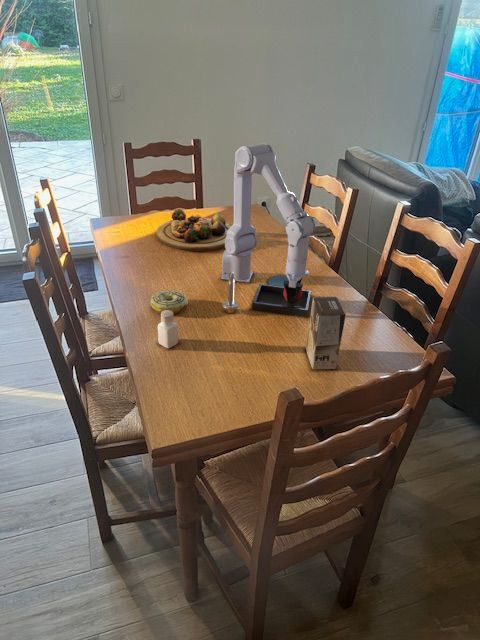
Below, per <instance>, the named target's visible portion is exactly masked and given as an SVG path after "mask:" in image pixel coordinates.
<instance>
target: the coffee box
mask: <svg viewBox="0 0 480 640" xmlns="http://www.w3.org/2000/svg"><path fill="white" fill-rule="evenodd" d="M311 301H312V302H311V308H310V316H309V325H308V333H307V339H306V347H305V351H306V354H307V357H308V361H309V363H310V366H311V369H312V370H335V369H337V364H338V358H339V353H340V348H341V342H342V337H343V331H344V326H345V322H346V316H347V314H346V312H345V311H344V308H343V307H342V304H341V302H340V301H339V299H338V297H337V296H320V297H319V296H314V297H312V300H311Z"/></svg>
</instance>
